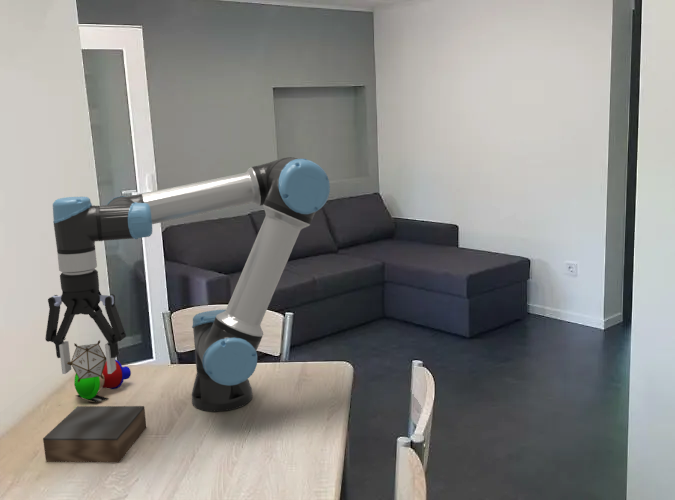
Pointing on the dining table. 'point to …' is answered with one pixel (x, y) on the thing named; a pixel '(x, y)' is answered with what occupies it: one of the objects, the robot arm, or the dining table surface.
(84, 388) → the toy figure
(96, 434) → the dark gray square base
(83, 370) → the game die
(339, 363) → the dining table surface
